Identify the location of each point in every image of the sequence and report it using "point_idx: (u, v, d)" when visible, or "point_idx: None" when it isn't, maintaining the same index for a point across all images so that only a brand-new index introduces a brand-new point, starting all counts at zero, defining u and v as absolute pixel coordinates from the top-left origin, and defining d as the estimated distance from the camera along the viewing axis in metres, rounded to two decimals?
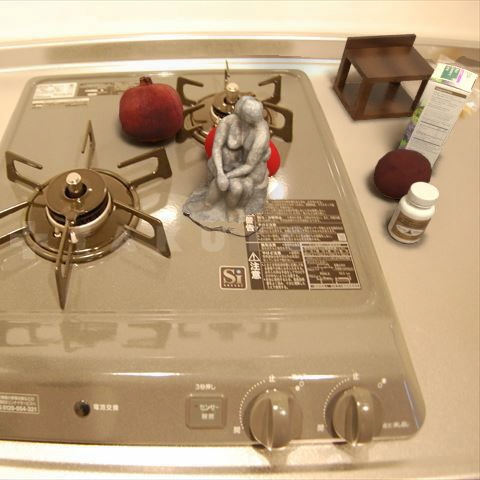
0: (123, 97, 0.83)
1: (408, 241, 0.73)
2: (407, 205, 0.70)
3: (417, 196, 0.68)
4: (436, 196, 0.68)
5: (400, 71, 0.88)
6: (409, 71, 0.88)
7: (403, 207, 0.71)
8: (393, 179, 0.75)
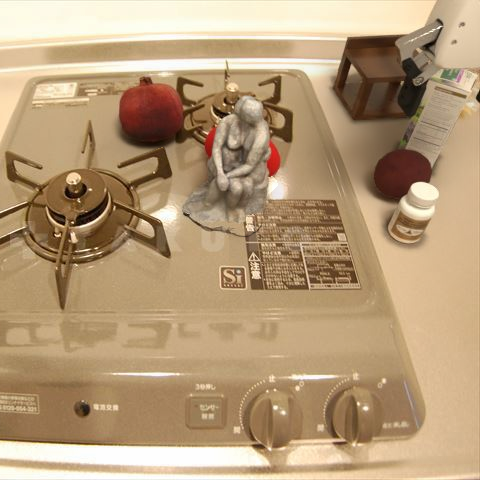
0: (123, 97, 0.83)
1: (408, 241, 0.73)
2: (407, 205, 0.70)
3: (417, 196, 0.68)
4: (436, 196, 0.68)
5: (400, 71, 0.88)
6: None
7: (403, 207, 0.71)
8: (392, 179, 0.75)
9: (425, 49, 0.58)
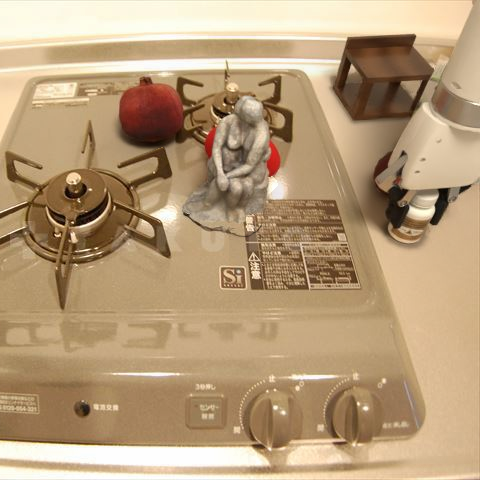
0: (123, 97, 0.83)
1: (408, 241, 0.73)
2: None
3: (417, 196, 0.68)
4: (436, 196, 0.68)
5: (400, 71, 0.88)
6: (409, 71, 0.88)
7: None
8: None
9: None
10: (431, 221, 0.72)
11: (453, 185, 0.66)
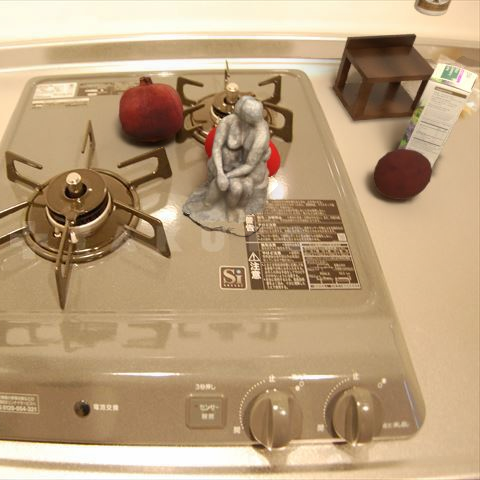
0: (123, 97, 0.83)
1: (435, 12, 0.74)
2: None
3: None
4: None
5: (400, 71, 0.88)
6: (409, 71, 0.88)
7: None
8: (393, 179, 0.75)
9: None
10: None
11: None
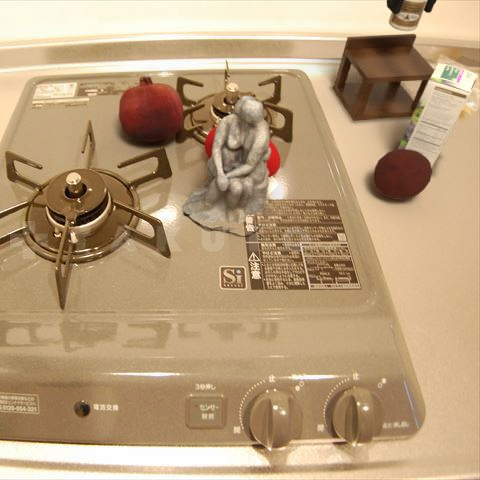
0: (123, 97, 0.83)
1: (406, 28, 0.84)
2: None
3: None
4: None
5: (400, 71, 0.88)
6: (409, 71, 0.88)
7: None
8: (393, 179, 0.75)
9: None
10: (426, 8, 0.84)
11: None
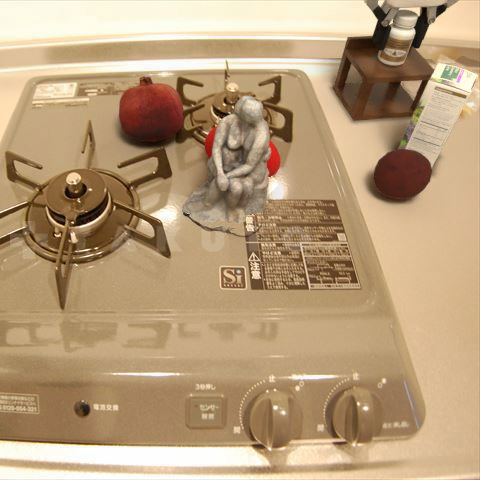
0: (123, 97, 0.83)
1: (394, 63, 0.89)
2: (392, 28, 0.86)
3: (400, 17, 0.84)
4: (416, 17, 0.84)
5: (400, 71, 0.88)
6: (409, 71, 0.88)
7: None
8: (392, 179, 0.75)
9: None
10: (414, 44, 0.88)
11: (428, 4, 0.82)
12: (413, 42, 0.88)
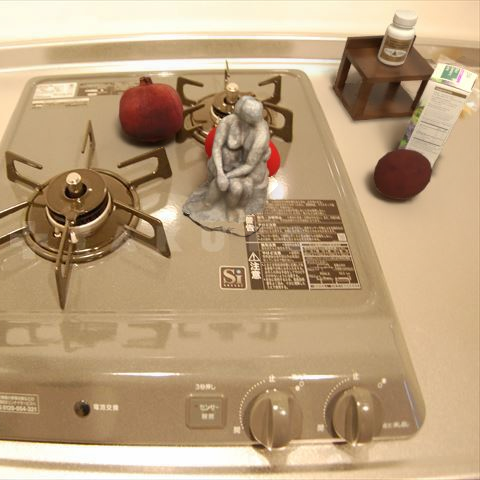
0: (123, 97, 0.83)
1: (394, 63, 0.89)
2: (392, 28, 0.86)
3: (400, 17, 0.84)
4: (416, 17, 0.84)
5: (400, 71, 0.88)
6: (409, 71, 0.88)
7: (389, 30, 0.86)
8: (392, 179, 0.75)
9: None
10: None
11: None
12: None
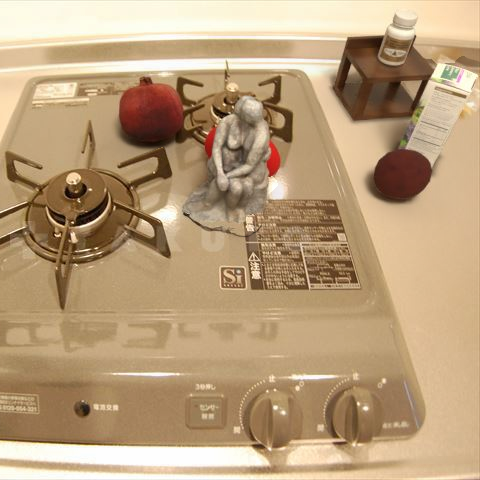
0: (123, 97, 0.83)
1: (394, 63, 0.89)
2: (392, 28, 0.86)
3: (400, 17, 0.84)
4: (416, 17, 0.84)
5: (400, 71, 0.88)
6: (409, 71, 0.88)
7: (389, 30, 0.86)
8: (393, 179, 0.75)
9: None
10: None
11: None
12: None
